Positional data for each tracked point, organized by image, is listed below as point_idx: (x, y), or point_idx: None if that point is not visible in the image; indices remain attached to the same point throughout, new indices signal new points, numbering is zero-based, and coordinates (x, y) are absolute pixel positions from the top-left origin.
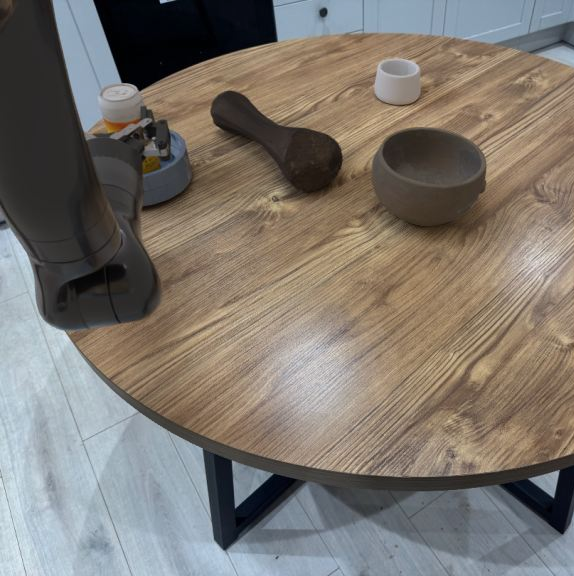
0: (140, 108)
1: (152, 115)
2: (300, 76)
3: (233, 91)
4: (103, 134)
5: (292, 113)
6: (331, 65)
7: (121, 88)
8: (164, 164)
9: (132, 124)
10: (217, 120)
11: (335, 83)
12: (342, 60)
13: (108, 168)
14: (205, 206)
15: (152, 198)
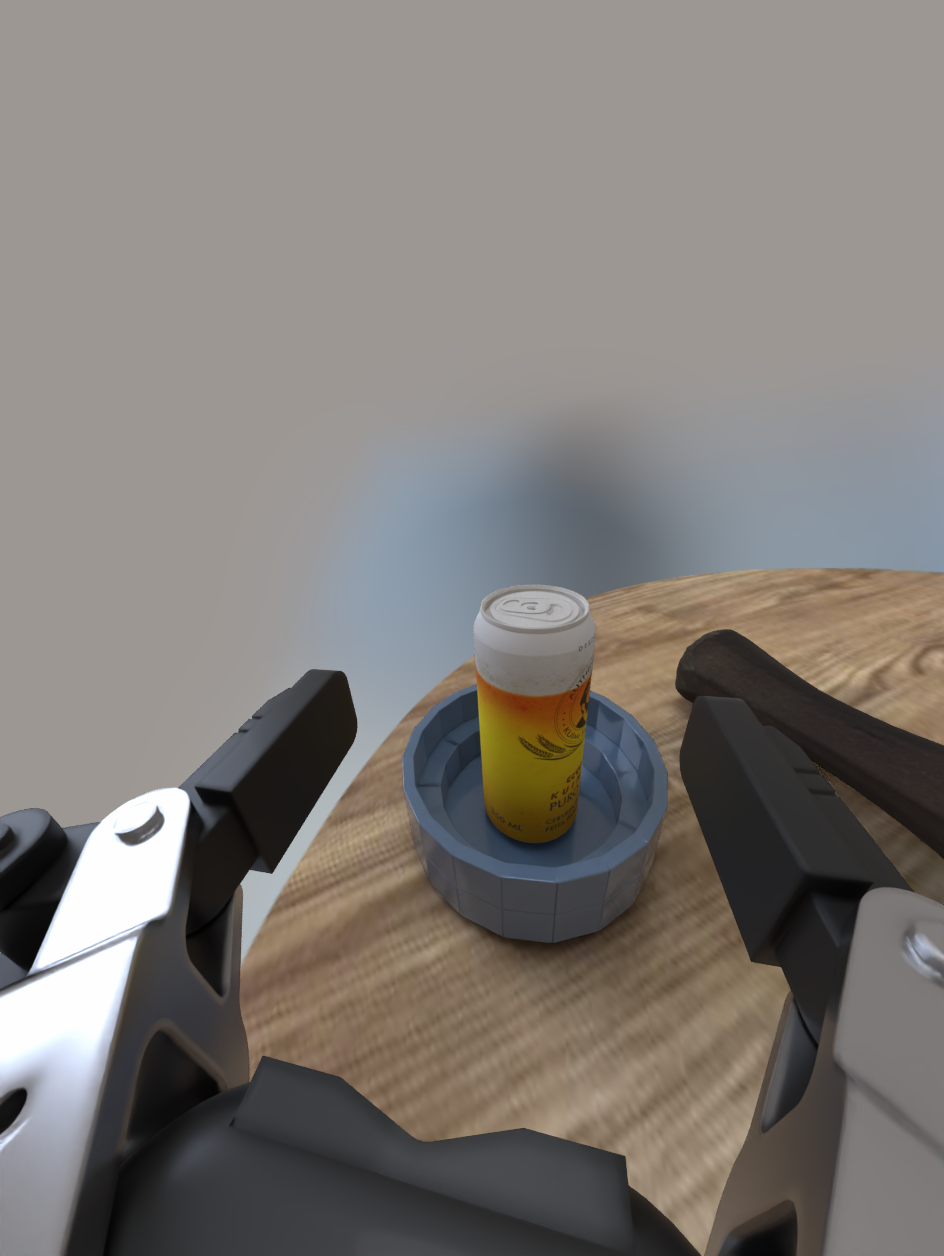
0: (716, 716)
1: (846, 806)
2: (793, 617)
3: (736, 632)
4: (363, 1198)
5: (829, 686)
6: (843, 606)
7: (541, 597)
8: None
9: (914, 1181)
10: (694, 686)
11: (882, 636)
12: (858, 600)
13: None
14: (723, 1015)
15: (552, 931)
